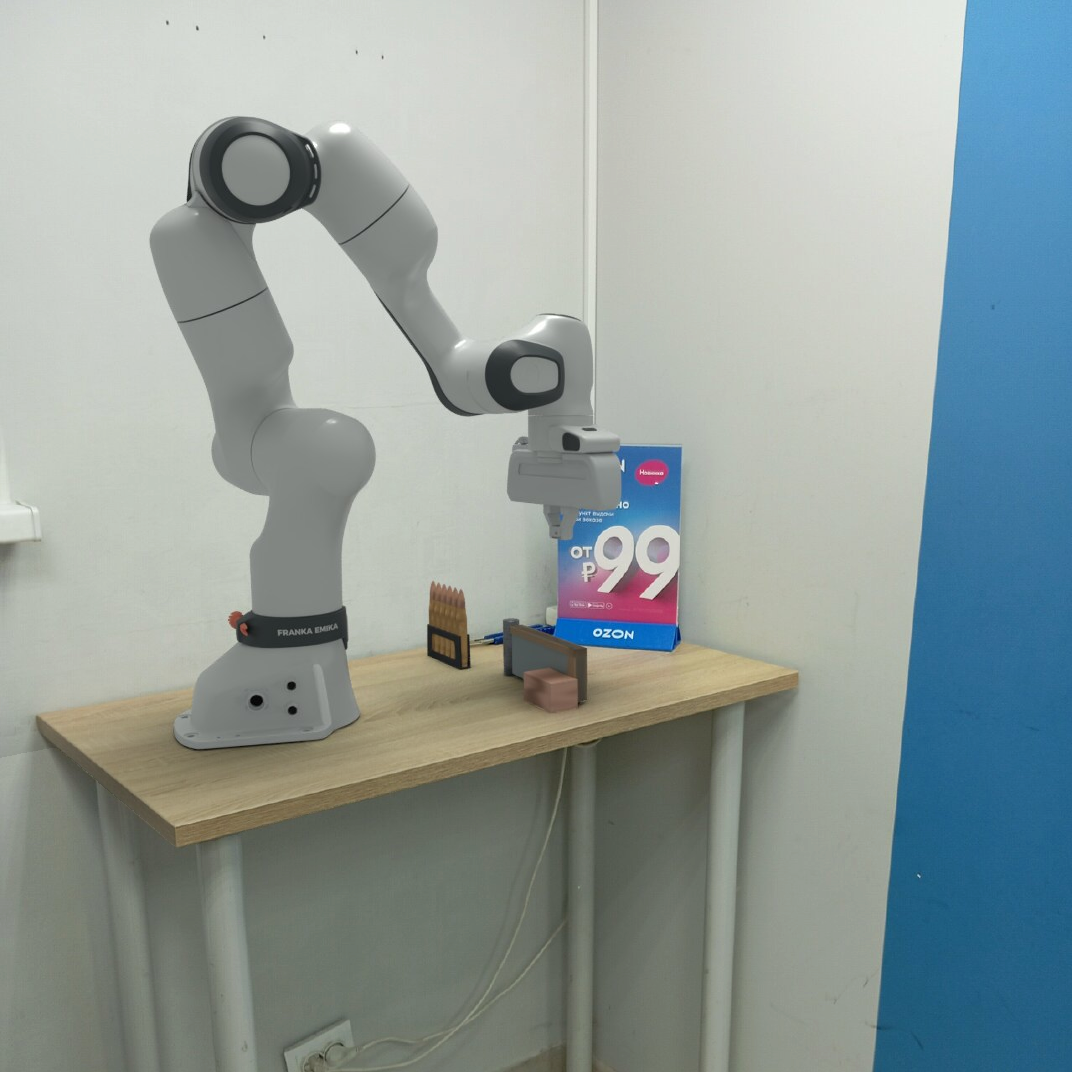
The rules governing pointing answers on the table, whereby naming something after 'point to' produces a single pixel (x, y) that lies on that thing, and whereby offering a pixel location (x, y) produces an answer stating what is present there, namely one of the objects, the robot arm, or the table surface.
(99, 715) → the table surface
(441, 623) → the ammunition clip
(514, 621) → the hinge post
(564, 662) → the gate
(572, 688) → the block
